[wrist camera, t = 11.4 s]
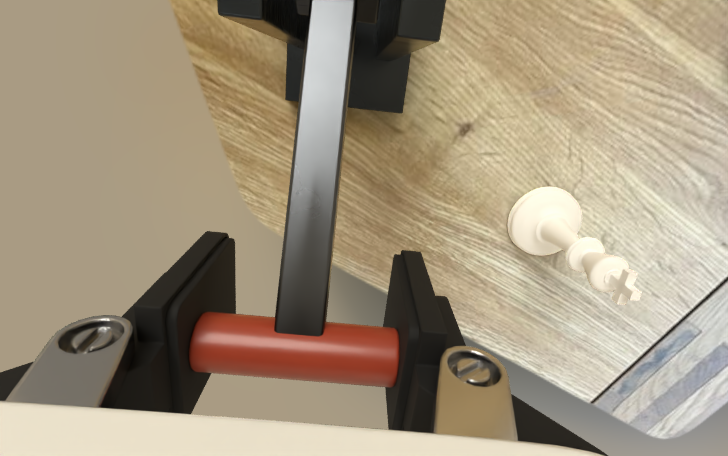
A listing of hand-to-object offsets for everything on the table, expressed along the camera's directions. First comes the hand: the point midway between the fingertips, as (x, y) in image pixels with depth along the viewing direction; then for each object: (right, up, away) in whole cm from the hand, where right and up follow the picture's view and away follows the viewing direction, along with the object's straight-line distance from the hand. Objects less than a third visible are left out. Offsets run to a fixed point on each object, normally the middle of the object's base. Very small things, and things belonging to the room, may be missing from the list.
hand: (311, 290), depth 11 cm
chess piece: (+14, +2, +16) cm, 21 cm away
